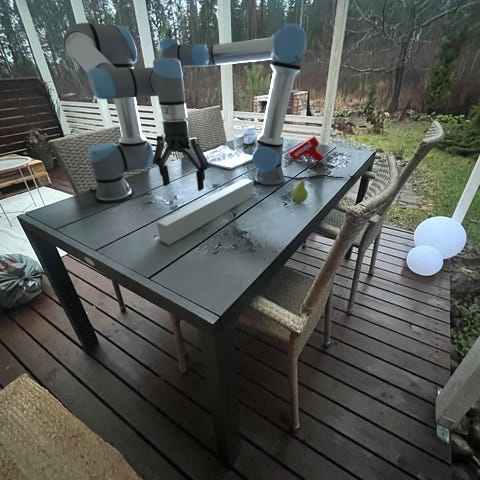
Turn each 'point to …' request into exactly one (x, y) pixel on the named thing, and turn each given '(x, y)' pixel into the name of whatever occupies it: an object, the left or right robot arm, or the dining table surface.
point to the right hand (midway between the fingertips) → (181, 134)
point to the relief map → (227, 157)
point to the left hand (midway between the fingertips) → (183, 187)
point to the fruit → (300, 192)
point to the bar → (203, 211)
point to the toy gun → (307, 150)
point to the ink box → (249, 134)
